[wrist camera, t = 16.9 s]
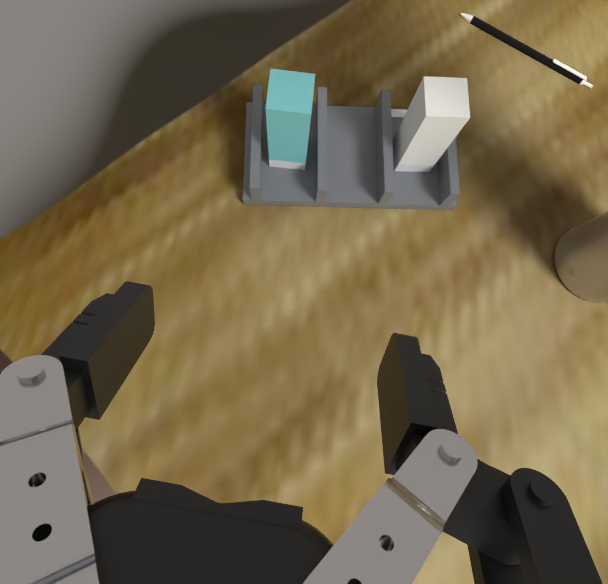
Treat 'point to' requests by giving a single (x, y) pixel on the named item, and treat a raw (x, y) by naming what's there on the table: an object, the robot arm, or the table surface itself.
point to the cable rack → (345, 162)
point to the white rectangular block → (431, 123)
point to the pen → (528, 50)
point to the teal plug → (289, 117)
